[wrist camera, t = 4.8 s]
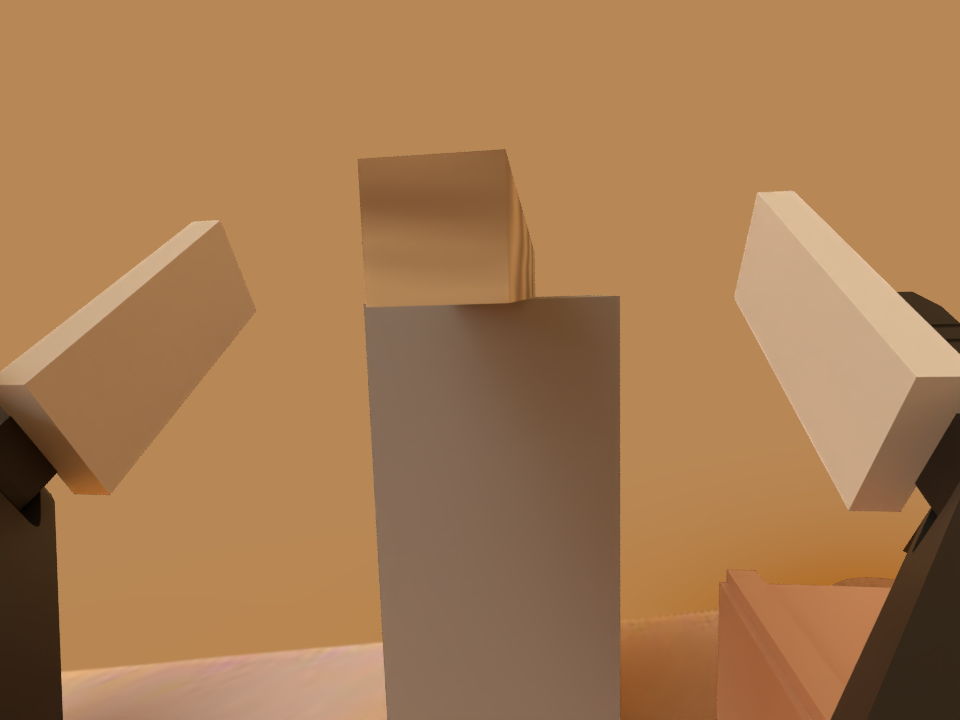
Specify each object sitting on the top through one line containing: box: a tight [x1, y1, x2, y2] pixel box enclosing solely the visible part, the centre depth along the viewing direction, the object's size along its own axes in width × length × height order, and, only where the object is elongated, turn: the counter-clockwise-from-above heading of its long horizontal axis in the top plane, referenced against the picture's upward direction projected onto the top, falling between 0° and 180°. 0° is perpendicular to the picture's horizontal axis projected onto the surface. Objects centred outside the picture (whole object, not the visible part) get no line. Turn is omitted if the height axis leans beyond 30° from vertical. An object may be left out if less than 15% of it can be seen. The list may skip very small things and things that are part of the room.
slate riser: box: [364, 295, 620, 720], centre depth 31 cm, size 16×10×30 cm, turn 173°
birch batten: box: [358, 149, 535, 307], centre depth 24 cm, size 26×3×3 cm, turn 173°
